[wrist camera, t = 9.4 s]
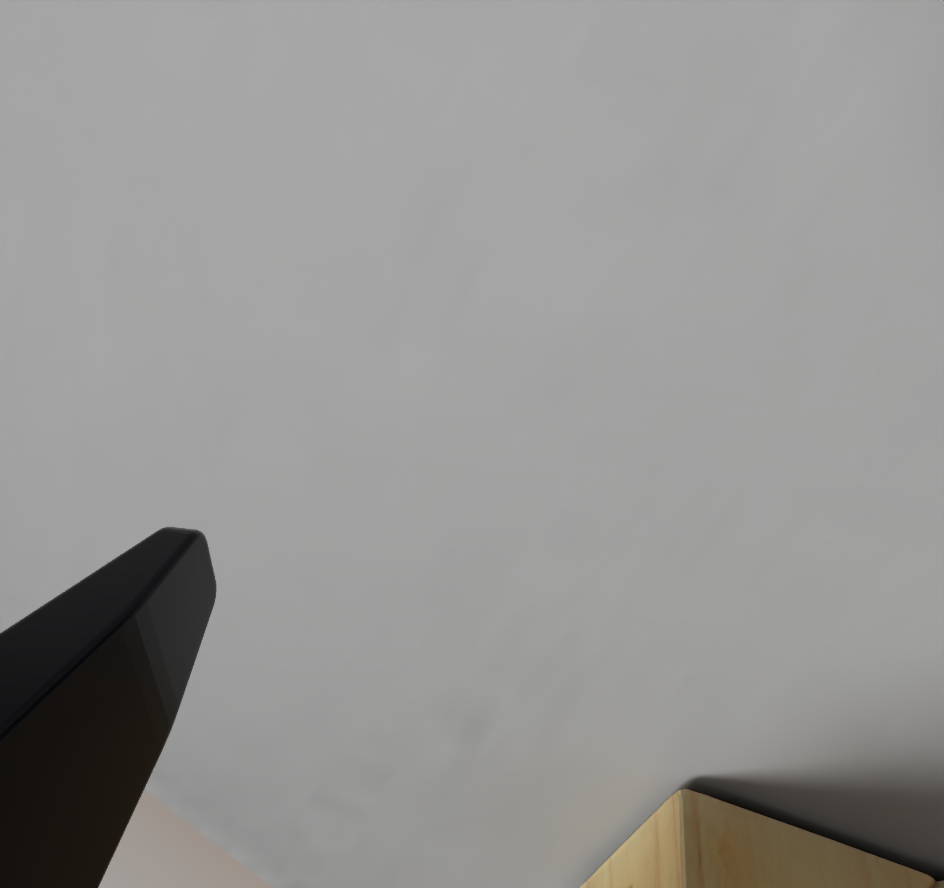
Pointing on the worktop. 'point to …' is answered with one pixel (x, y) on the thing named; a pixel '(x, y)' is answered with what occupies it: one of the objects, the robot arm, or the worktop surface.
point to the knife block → (740, 853)
